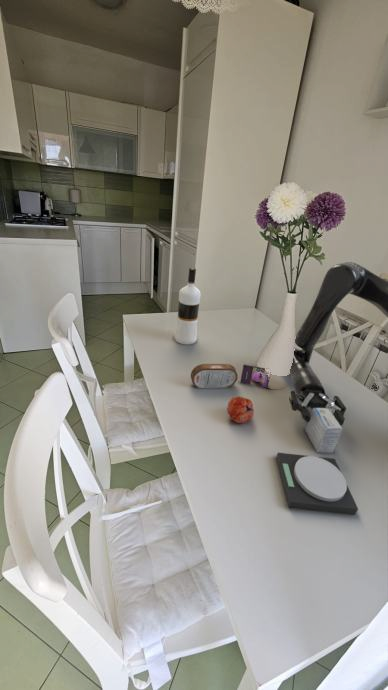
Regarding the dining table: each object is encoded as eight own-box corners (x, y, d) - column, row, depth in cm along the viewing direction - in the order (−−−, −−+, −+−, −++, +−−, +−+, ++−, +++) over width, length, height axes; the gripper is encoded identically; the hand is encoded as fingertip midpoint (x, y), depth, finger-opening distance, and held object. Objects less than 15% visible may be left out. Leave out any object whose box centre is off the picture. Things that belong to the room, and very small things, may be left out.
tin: (233, 384, 101) (237, 362, 98) (236, 389, 99) (240, 367, 95) (189, 384, 98) (191, 362, 95) (190, 390, 96) (193, 368, 92)
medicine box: (332, 454, 78) (343, 428, 74) (316, 453, 78) (326, 428, 73) (319, 431, 85) (328, 407, 81) (304, 431, 84) (313, 407, 80)
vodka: (178, 346, 120) (185, 271, 106) (171, 336, 128) (176, 265, 114) (200, 344, 124) (209, 271, 110) (191, 334, 131) (198, 265, 117)
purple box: (243, 365, 100) (271, 370, 99) (243, 362, 105) (269, 366, 104) (240, 384, 101) (267, 389, 100) (239, 380, 106) (265, 385, 105)
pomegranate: (220, 422, 87) (238, 425, 78) (219, 397, 88) (236, 396, 79) (242, 421, 90) (262, 423, 81) (241, 396, 91) (260, 395, 82)
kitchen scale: (331, 465, 75) (336, 455, 73) (354, 516, 63) (360, 506, 61) (275, 459, 74) (278, 449, 73) (287, 509, 63) (291, 498, 61)
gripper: (287, 372, 91) (301, 407, 77) (334, 377, 91) (357, 413, 77) (281, 392, 94) (294, 429, 80) (326, 397, 95) (347, 435, 80)
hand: (325, 421), depth 78 cm, fingers open, 8 cm apart
